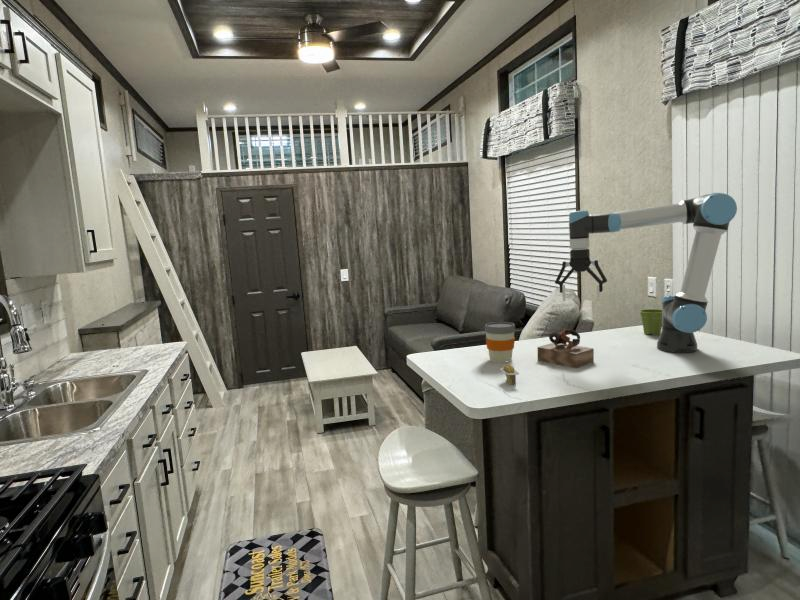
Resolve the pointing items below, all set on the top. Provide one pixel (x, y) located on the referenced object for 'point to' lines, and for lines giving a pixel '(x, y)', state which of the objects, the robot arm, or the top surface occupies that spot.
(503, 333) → the reusable coffee cup
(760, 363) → the top surface
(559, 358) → the walnut box
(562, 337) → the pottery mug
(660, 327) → the plant pot
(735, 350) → the top surface
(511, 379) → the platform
